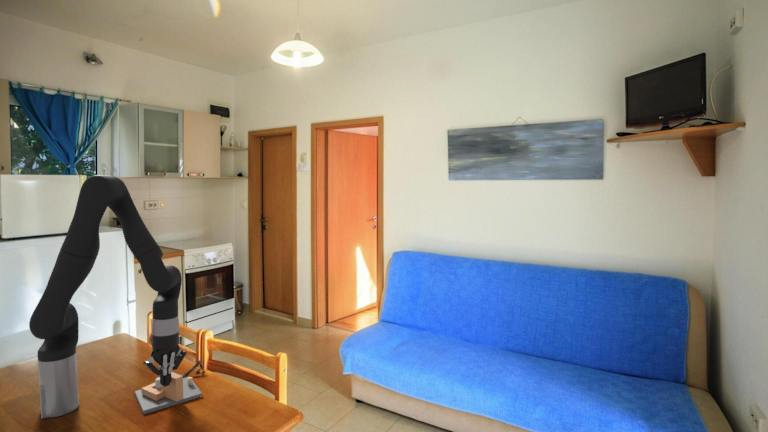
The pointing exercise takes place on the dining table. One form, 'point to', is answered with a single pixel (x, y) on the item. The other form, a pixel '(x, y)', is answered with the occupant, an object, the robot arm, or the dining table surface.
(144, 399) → the post base
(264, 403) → the dining table surface
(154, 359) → the robot arm
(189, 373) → the wooden post with brackets
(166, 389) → the peach open lidded box
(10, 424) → the dining table surface
